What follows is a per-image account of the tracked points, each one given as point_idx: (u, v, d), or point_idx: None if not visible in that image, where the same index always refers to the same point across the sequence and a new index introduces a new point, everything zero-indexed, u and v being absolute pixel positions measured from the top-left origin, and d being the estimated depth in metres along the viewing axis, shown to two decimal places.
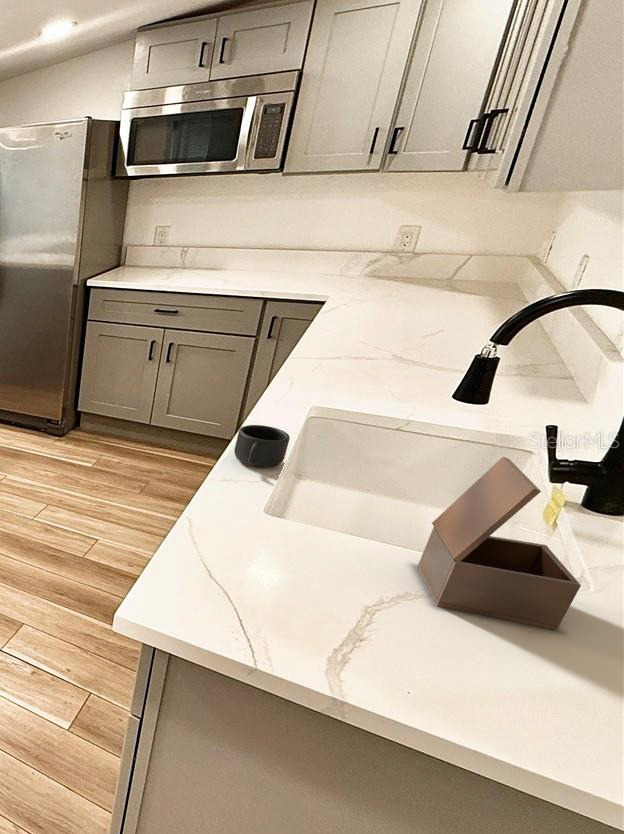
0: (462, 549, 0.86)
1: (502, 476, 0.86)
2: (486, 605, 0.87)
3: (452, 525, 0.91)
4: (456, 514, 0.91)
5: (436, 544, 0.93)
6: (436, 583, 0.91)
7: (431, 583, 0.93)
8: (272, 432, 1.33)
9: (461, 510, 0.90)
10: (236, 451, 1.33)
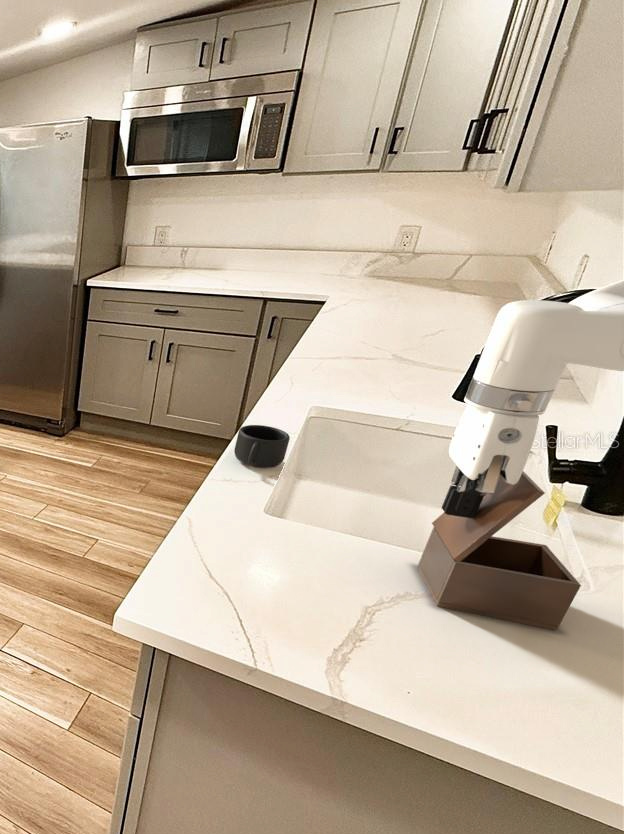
0: (463, 549, 0.86)
1: None
2: (486, 605, 0.87)
3: (453, 525, 0.90)
4: None
5: (436, 544, 0.93)
6: (436, 583, 0.91)
7: (431, 583, 0.93)
8: (272, 432, 1.33)
9: None
10: (236, 451, 1.33)
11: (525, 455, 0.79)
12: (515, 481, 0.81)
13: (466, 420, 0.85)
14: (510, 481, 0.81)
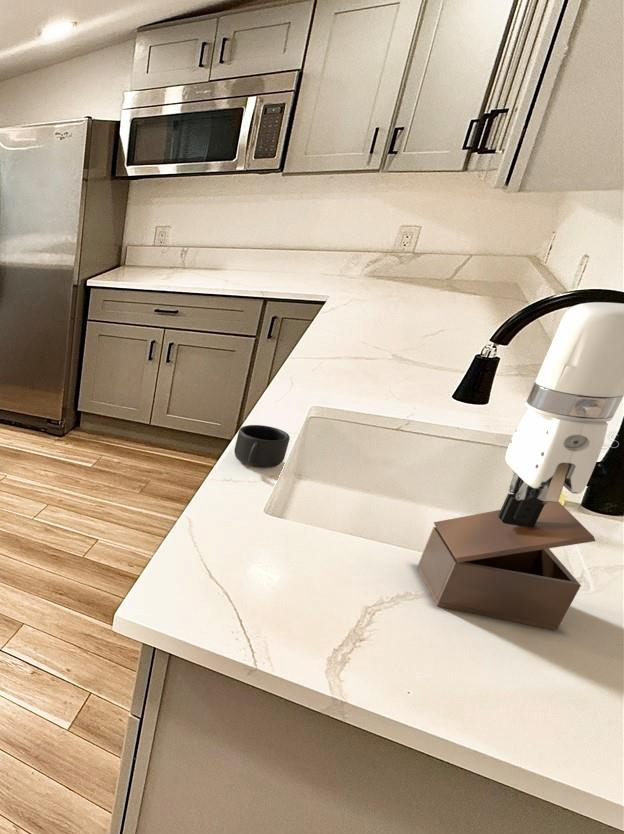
0: (471, 554, 0.86)
1: (550, 514, 0.85)
2: (486, 605, 0.87)
3: (463, 532, 0.90)
4: (472, 525, 0.90)
5: (436, 544, 0.93)
6: (436, 583, 0.91)
7: (431, 583, 0.93)
8: (272, 432, 1.33)
9: (480, 524, 0.90)
10: (236, 451, 1.33)
11: (592, 463, 0.76)
12: (581, 490, 0.78)
13: (526, 426, 0.83)
14: (575, 490, 0.78)
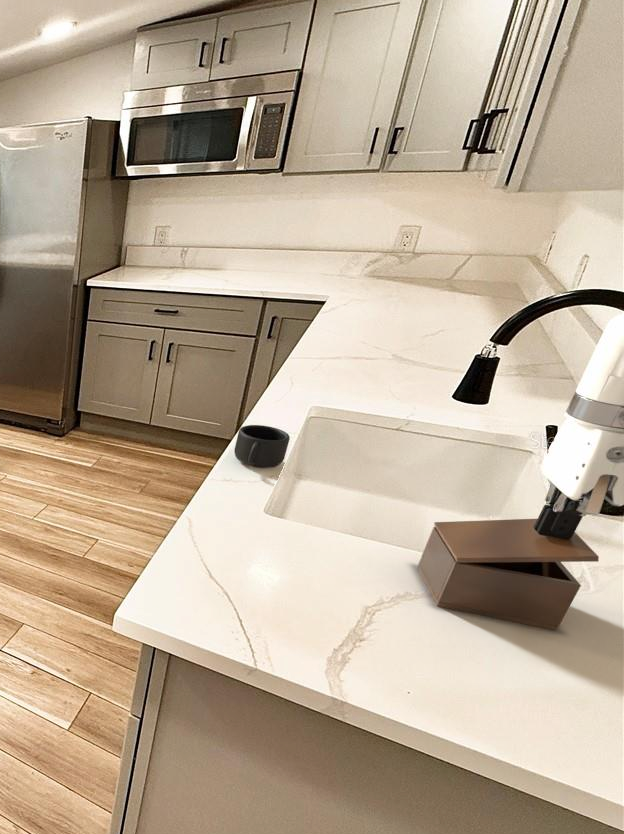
0: (472, 556, 0.86)
1: None
2: (486, 605, 0.87)
3: (464, 535, 0.90)
4: (474, 530, 0.91)
5: (436, 544, 0.93)
6: (436, 583, 0.91)
7: (431, 583, 0.93)
8: (272, 432, 1.33)
9: (482, 530, 0.90)
10: (236, 451, 1.33)
11: None
12: (623, 502, 0.76)
13: (565, 437, 0.81)
14: (617, 502, 0.77)
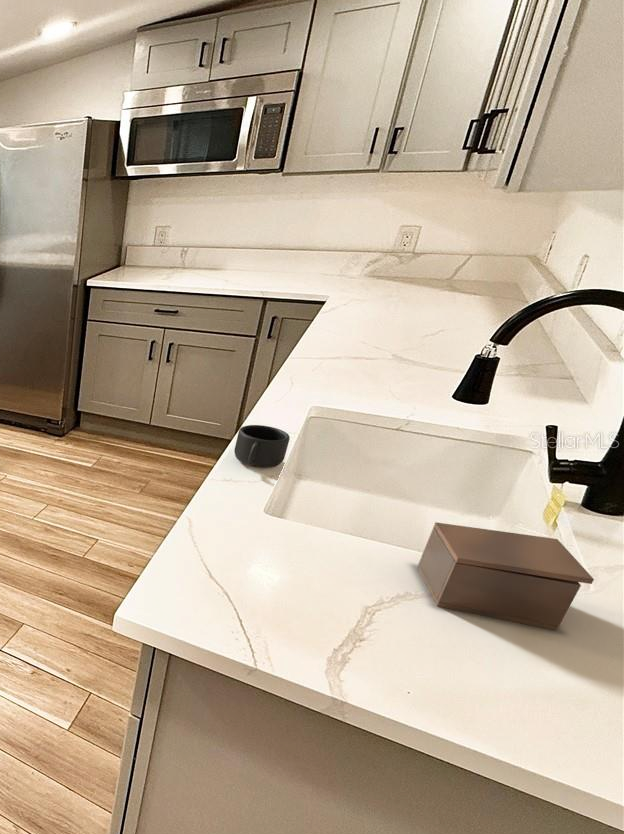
0: (473, 559, 0.86)
1: (551, 549, 0.87)
2: (486, 605, 0.87)
3: (465, 539, 0.90)
4: (474, 536, 0.91)
5: (436, 544, 0.93)
6: (436, 583, 0.91)
7: (431, 583, 0.93)
8: (272, 432, 1.33)
9: (482, 537, 0.90)
10: (236, 451, 1.33)
11: None
12: None
13: None
14: None
